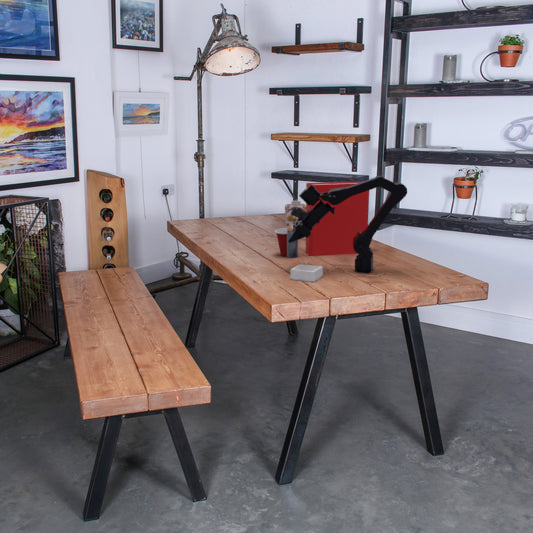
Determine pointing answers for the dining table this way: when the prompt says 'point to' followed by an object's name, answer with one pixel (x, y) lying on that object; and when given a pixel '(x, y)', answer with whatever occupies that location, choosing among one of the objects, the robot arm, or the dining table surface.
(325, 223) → the book
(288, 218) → the decorative jar
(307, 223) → the robot arm
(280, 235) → the plastic cup
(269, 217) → the dining table surface
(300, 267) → the bin
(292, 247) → the battery cell
